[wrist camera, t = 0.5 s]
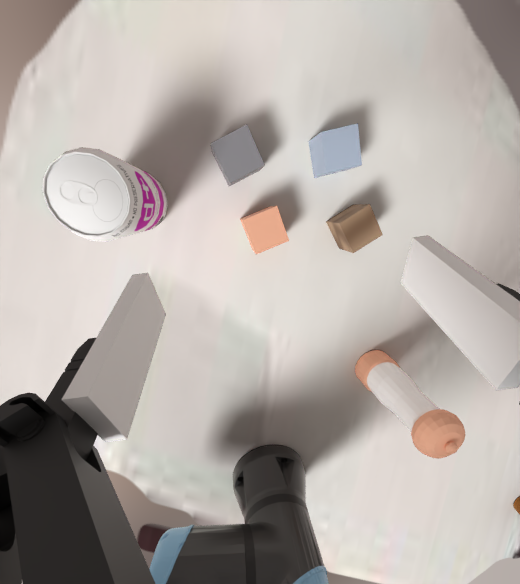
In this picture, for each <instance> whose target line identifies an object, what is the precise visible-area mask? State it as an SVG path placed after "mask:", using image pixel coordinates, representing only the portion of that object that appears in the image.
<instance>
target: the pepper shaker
mask: <svg viewBox="0 0 520 584" xmlns="http://www.w3.org/2000/svg"><path fill="white" fill-rule="evenodd" d="M355 372H356V376H357V377H358V378H359V379H360V381H361V382H362V383H363V384H364V385H365V387H366V388H367V389H368V390H369V391H371V392H373V393H374V395H375V396H376V397H377V399H378V400H379V401H380V402H381V403H382V404H383V405H384V406H385V407H387V408H388V409H389V410H390V411H391V412H392V413H394V414H395V415H396V416H397V417H398V418H399V419H400V420H401V422H402V423H403V424H404V425H405V426H406V427H407V428H408V430H409V431H410V432H411V435H412V439H413V443H414V445H415V447H416V448H417V449H418V450H419V451H420V452H422V453H423V454H425V455H427V456H429V457H432V458H443V457H447V456H449V455H451V454H453V453H455V452H456V451H457V450H458V449H459V447H460V446H461V445H462V443H463V441H464V439H465V430H464V426H463V424H462V423H461V421H460V420H459V418H458V417H457V416H456V415H454V414H453V413H451V412H449V411H446V410H441V409H440V408H438V407H437V406H436V405H435V404H434V403H433V402H432V401H431V400H430V399H429V398H428V397H427V396H425V395H424V394H423V393H422V392H421V390H420V389H419V388H418V387H417V385H416V384H415V383H414V382H413V380H412V379H411V378H410V377H409V375H407V374H406V373H405V372H404V371H403V370H401V369H400V367H399V365H398V364H397V363H396V362H395V361H394V360H393V359H392V358H391V357H390V356H388V355H387V354H386V353H384V352H383V351H380V350H373V351H369V352H367V353H365V354H364V355H363V356H361V357H360V359H359V360H358V361H357V364H356V366H355Z"/></svg>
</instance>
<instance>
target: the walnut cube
mask: <svg viewBox="0 0 520 584" xmlns="http://www.w3.org/2000/svg"><path fill="white" fill-rule="evenodd" d="M327 224H328V226H329V228H330V231H331V233H332V235H333V237H334V239H335V241H336V243H337V245H338V247H339V248H340V249H343V250H346V251H349V252H352V253H354V252H356V251H357V250H359V249H361V248H362V247H364V246H365V245H367V244H369V243H370V242H372V241H373V240H375V239H377V238H378V237H380V236H381V235H382V232H381V230H380V227H379V225H378V223H377V220H376V218H375V215H374V213H373V210H372V208H371V206H370V204H359V205H352V206H350V207H349V208H347V209H346V210H344V211H342V212H341V213H339V214H338V215H336V216H335V217H333V218H331V219H330V220H328V221H327Z"/></svg>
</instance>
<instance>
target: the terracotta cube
mask: <svg viewBox="0 0 520 584" xmlns="http://www.w3.org/2000/svg"><path fill="white" fill-rule="evenodd" d="M240 220H241V222H242V225H243V227H244V230H245V232H246V235H247V237H248V240H249V242H250V245H251V247H252V250H253V251H254V252H255V253H256V254H258V253H261V252H263V251H265V250H268V249H270V248H273V247H275V246H278V245H280V244H282V243H285V242H287V241H289V239H288V236H287V233H286V230H285V227H284V224H283V222H282V219H281V216H280V213H279V210H278V207H277V206H270V207H267V208H265V209H263V210H260V211H258V212H255V213H253V214H251V215H248V216H246V217H243V218H241V219H240Z"/></svg>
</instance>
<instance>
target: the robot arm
mask: <svg viewBox="0 0 520 584" xmlns="http://www.w3.org/2000/svg"><path fill="white" fill-rule="evenodd" d="M401 284H402V285H403V287H404V288H405V289H406V290H407V291H408V292H409V293H410V294H411V295H412V297H413V298H414V299H415V300H416V301H417V302H418V303H419V304H420V306H421V307H422V308H423V309H424V310H425V311H426V312H427V313H428V315H429V316H430V317H431V318H432V319H433V320H434V321H435V322H436V324H437V325H438V326H439V327H440V328H441V329H442V330H443V331H444V333H445V334H446V335H447V336H448V337H449V338H450V339H451V340H452V342H453V343H454V344H455V345H456V346H457V347H458V348H459V349H460V351H461V352H462V353H463V354H464V355H465V356H466V357H467V358H468V360H469V361H470V362H471V363H472V364H473V365H474V366H475V367H476V369H477V370H478V371H479V372H480V373H481V374H482V375H483V376H484V378H485V379H486V380H487V381H488V382H489V383H490V384H491V385H492V387H493V388H494V389H495V390H503V389H510V388H518V386H519V385H520V294H519V293H518V292H516V291H515V290H512V289H510V288H508V287H505V286H503V285H501V284H495V283H494V282H492V281H491V280H489V279H488V278H487V277H485V276H484V275H482V274H481V273H480V272H478V271H477V270H475V269H474V268H473V267H471V266H470V265H469V264H467V263H466V262H464V261H463V260H462V259H460V258H459V257H457V256H456V255H455V254H453V253H452V252H450V251H449V250H448V249H446V248H445V247H443V246H442V245H441V244H439V243H438V242H436V241H435V240H434V239H432V238H431V237H430V236H420V237H413V238H412V242H411V246H410V249H409V253H408V257H407V261H406V264H405V268H404V272H403V275H402V279H401ZM165 316H166V313H165V311H164V309H163V306H162V304H161V302H160V299H159V297H158V295H157V292H156V290H155V288H154V286H153V283H152V281H151V279H150V276H149V274H148V273H142V274H135V275H132V277H131V278H130V280H129V282H128V284H127V285H126V287H125V289H124V291H123V292H122V294H121V296H120V298H119V299H118V301H117V303H116V305H115V306H114V308H113V310H112V312H111V314H110V315H109V317H108V319H107V321H106V322H105V324H104V326H103V328H102V329H101V331H100V333H99V335H98V336H97V338H91V339H88V340H87V341H86V342H85V343H84V344H83V345H82V346H81V347H79V348H78V349H77V351H76V353H75V354H74V356H73V358H72V359H71V363H69V364H68V366H67V367H66V369H65V372H63V374H62V375H61V377H60V379H59V380H58V382H57V383H56V385H55V387H54V388H53V390H52V391H51V393H50V395H49V396H48V398H47V400H46V401H45V402H44V401H43V400H42V399H41V398H40V397H38V396H37V395H36V394H33V393H25V394H21V395H18V396H16V397H14V398H11V399H9V400H8V401H6V402H5V403H3V404H2V405H1V406H0V584H21V583H22V581H23V584H328V579H327V571H326V568H325V567H324V564H323V561H322V557H321V554H320V551H319V547H318V544H317V540H316V537H315V534H314V530H313V527H312V524H311V520H310V517H309V514H308V510H307V507H306V503H305V470H304V467H303V463H302V460H301V458H300V456H299V455H298V454H297V453H296V452H295V451H294V450H292V449H290V448H288V447H285V446H280V445H268V446H263V447H260V448H257V449H254V450H252V451H251V452H249V453H247V454H246V455H245V456H244V457H242V458H241V459H240V461H239V462H238V463H237V465H236V467H235V469H234V472H233V488H234V493H235V496H236V498H237V501H238V503H239V506H240V509H241V511H242V514H243V516H244V519H245V524H233V525H211V526H194V525H190V526H189V527H181V528H172V529H169V530H167V531H166V532H165V533H164V534H163V535H162V537H161V538H160V540H159V542H158V545H157V547H156V550H155V553H154V556H153V559H152V563H151V566H150V569H149V568H148V566H147V564H146V561H145V559H144V556H143V554H142V552H141V549H140V547H139V545H138V542H137V540H136V538H135V536H134V533H133V531H132V529H131V527H130V524H129V522H128V520H127V517H126V515H125V513H124V511H123V508H122V506H121V504H120V501H119V499H118V497H117V494H116V492H115V490H114V488H113V485H112V483H111V481H110V479H109V476H108V474H107V472H106V469H105V467H104V464H103V462H102V460H101V458H100V455H99V453H98V451H97V449H96V448H95V447H94V446H93V444H94V442H95V439H96V437H97V435H98V436H99V437H101V438H102V439H103V440H104V441H105V442H111V441H118V440H126V439H127V437H128V434H129V431H130V428H131V425H132V421H133V418H134V415H135V412H136V409H137V405H138V402H139V399H140V396H141V393H142V389H143V386H144V383H145V380H146V377H147V373H148V370H149V367H150V364H151V361H152V357H153V354H154V351H155V348H156V345H157V341H158V338H159V335H160V332H161V329H162V325H163V322H164V319H165ZM519 404H520V403H519Z"/></svg>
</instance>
